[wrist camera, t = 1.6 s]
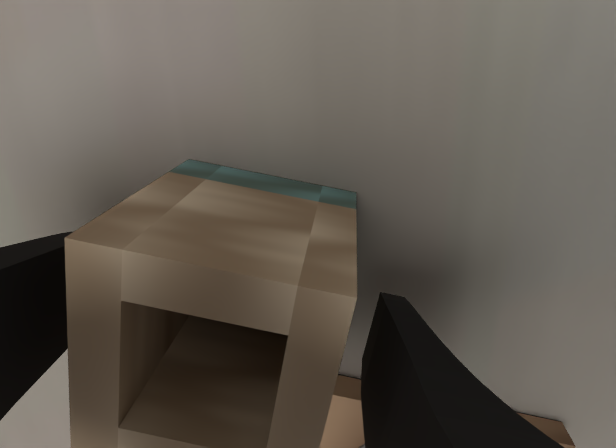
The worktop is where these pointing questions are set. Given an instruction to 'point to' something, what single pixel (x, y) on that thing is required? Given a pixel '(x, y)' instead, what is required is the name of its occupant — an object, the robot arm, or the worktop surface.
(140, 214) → the sleeve
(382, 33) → the worktop surface
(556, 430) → the pin board
